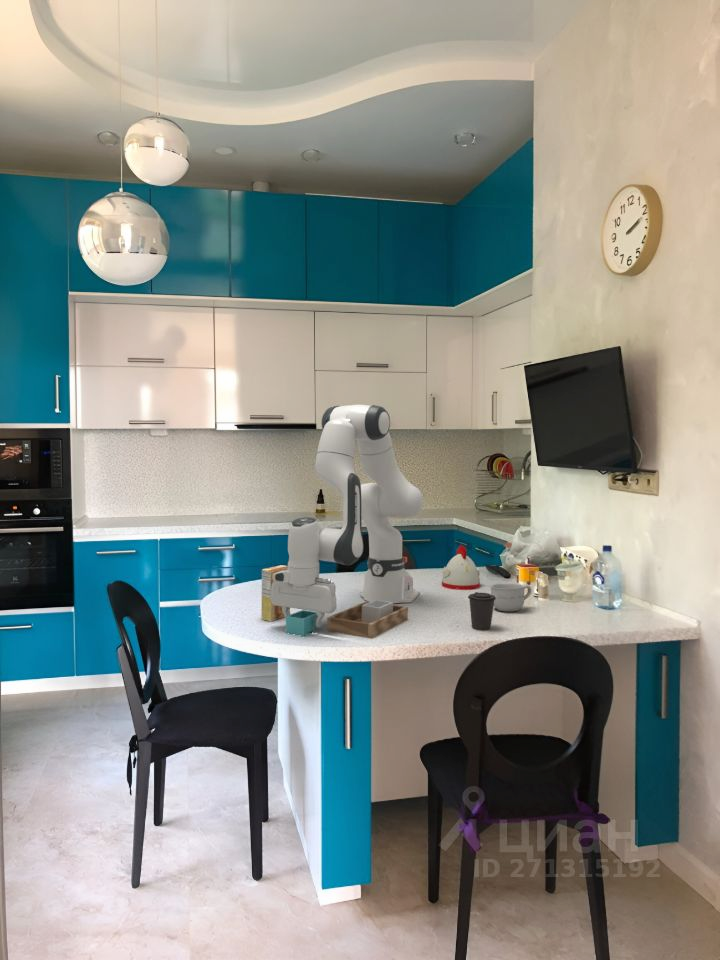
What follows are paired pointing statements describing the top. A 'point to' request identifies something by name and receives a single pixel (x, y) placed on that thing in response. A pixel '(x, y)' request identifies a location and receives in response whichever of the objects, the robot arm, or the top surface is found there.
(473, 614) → the coffee cup
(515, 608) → the teacup
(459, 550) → the kitchen timer
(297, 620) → the teal crate
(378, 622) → the walnut crate
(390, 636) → the top surface
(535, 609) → the top surface
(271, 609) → the candy box
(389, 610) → the grey crate
